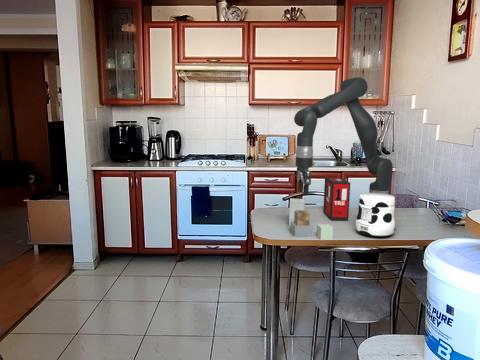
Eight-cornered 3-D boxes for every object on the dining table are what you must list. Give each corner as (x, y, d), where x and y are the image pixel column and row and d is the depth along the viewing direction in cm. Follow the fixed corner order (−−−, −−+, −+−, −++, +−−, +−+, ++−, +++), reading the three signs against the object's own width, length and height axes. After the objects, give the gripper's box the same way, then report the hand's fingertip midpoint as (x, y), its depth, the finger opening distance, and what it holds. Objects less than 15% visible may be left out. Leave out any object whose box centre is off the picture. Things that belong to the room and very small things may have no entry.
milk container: (391, 230, 189) (394, 193, 186) (397, 241, 172) (400, 201, 169) (353, 227, 193) (356, 191, 190) (355, 238, 176) (358, 198, 173)
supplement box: (303, 227, 192) (304, 202, 190) (288, 226, 193) (289, 201, 191) (304, 223, 199) (305, 198, 197) (289, 222, 200) (290, 198, 198)
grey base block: (306, 231, 186) (307, 220, 185) (312, 237, 178) (312, 225, 177) (290, 232, 185) (290, 221, 184) (294, 237, 177) (295, 226, 176)
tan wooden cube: (305, 221, 183) (306, 210, 182) (309, 225, 178) (309, 213, 177) (294, 222, 182) (294, 210, 181) (297, 225, 177) (297, 213, 176)
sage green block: (328, 235, 180) (328, 224, 179) (332, 239, 174) (333, 227, 173) (316, 236, 179) (317, 224, 178) (320, 240, 173) (321, 228, 172)
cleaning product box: (348, 220, 204) (350, 182, 201) (331, 220, 204) (333, 182, 200) (338, 212, 220) (340, 177, 217) (323, 212, 220) (324, 177, 217)
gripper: (317, 158, 168) (316, 195, 171) (307, 154, 182) (306, 188, 185) (300, 158, 167) (299, 195, 170) (291, 154, 181) (290, 189, 184)
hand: (302, 191), depth 178 cm, fingers open, 8 cm apart
